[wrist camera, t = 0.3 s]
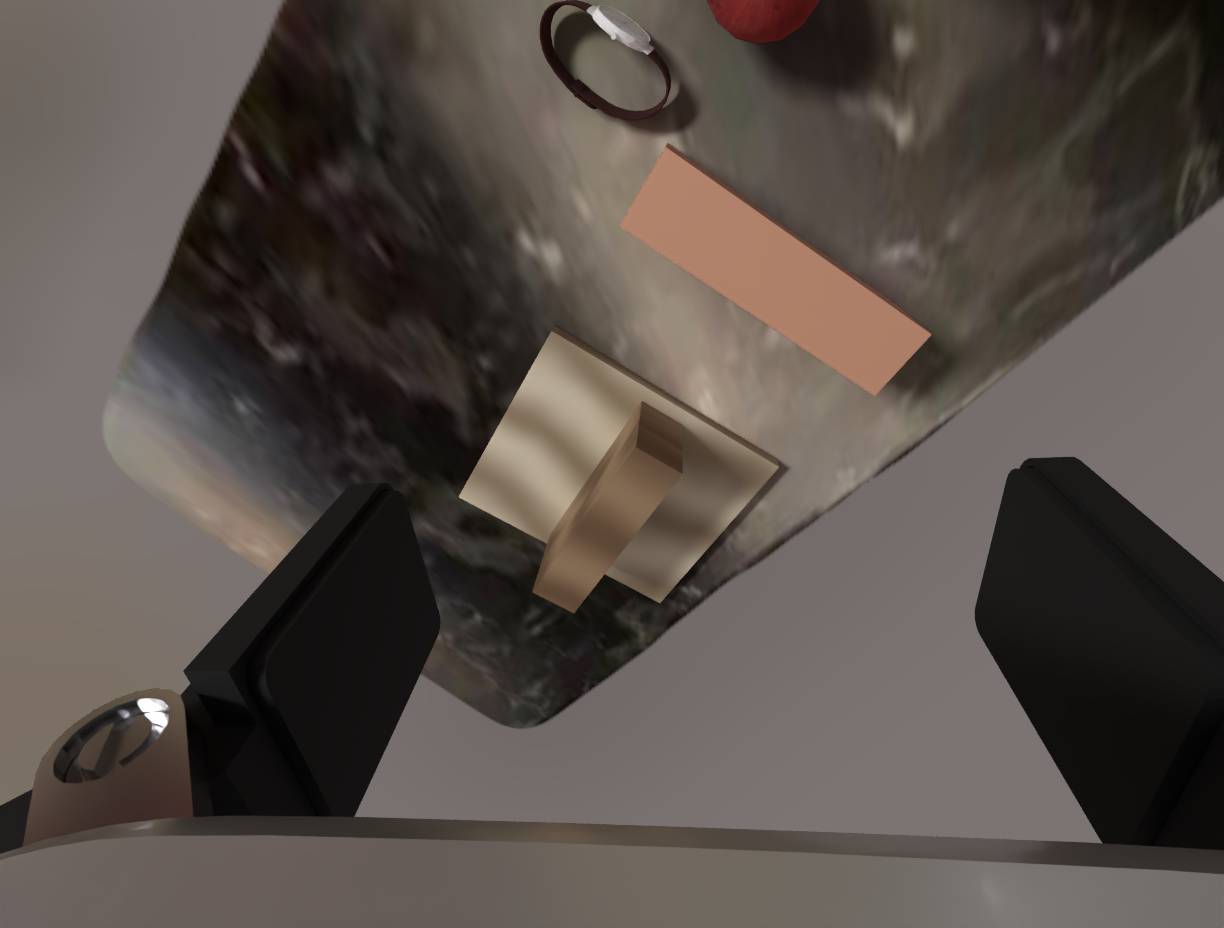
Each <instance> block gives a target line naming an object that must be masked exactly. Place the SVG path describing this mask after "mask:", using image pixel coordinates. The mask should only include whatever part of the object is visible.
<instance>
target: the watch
mask: <svg viewBox="0 0 1224 928" xmlns="http://www.w3.org/2000/svg"><path fill="white" fill-rule="evenodd" d="M563 5H572V6H576V7H578V8H580V9H582V10H584V11H585V12H587V13H589V14H590V15H592V17H593V19H594V21H595V22H596V23H597V24H598V25H599V26H600V27H601V28H602V29H603V30H604V31H605V32H606V33H608V34H609V35H610V36H611V39H613V40H615V39H617V40H618V41H620V42H621V43H623V44H625V45H626V46H628V47H630V48H632V49H634V50H637V51H639V52H644V53H645V54H647V55H648V56H649V57H650V58H651V59H652V60H653V61H654V62H655V63H656V64H657V65H658V66H659V68H660V69H661V71H662V73H663V75H664V78H665V81H666V87H667V89H666V95H665V97H664V99H663V100H662V101H661V102H660V103H659V104H658V105H657V106H655V107H653V108H651V109H648V110H645V111H630V110H625V109H622V108H619V107H616V106H614V105H612V104H611V103H609V102H607V101H606V100H604V99H603V98H601V97H600V96H598V95H597V94H596V93H594V92H593V91H591V90H590V89H589V88H588V87H587V86H586V85H585V84H584V83H582V82H581V81H580V80H579V79H578V80H576V81H575V79H574V78H573V77H572V76H571V74H570V73H569V72H568V71H567V70H566V68H565V67H564V66H563V64H562V63H561V61H560V60H559V58H558V56H557V54H556V53H555V50H554V47H553V44H552V38H551V22H552V19H553V16H554V14H555V12H556V11H557V10H558V9H559V8H560V7H562V6H563ZM540 41H541V46H542V50H543V53H544V55H545V58H546V60H547V61H548V63H549V65H550V66H551V68H552V69H553V71H554V72H555V74H556V75H557V76H558V77H559V78H560V80H561V81H562V82H563V83H564V85H565V86H566V87H567V88H568V89H569V90H570V91H571V92H572V93H573V94H574V96H575V97H577V98H579V99H580V100H581V101H582V102H583V103H585V104H586V105H587V106H588V107H590V108H592V109H597V108H598V109H600V110H601V111H603V112H604V113H606V114H609V115H611V116H613V117H617V118H620V119H624V120H640V119H646V118H648V117H651V116H653V115H655V114H656V113H657V112H658V111H660V110H661V109H662V107H663V106H664V104H665V103H666V101H667V98H668V95H669V92H670V88H671V78H670V73H669V70H668V67H667V66H666V64H665V62H664V61H663V59H662V58H661V56H660V55H659V54H658V53H657V52H656V51H655V50H654V47H652V46H651V45H649V42H650V36H649V35H648V34H647V33H646V32H645V31H644V30H643V29H642V28H641V27H640V26H639V25H638V24H637V23H636V22H634V21H633V20H632V19H630V18H629V17H627V16H626V15H624V14H623V13H621V12H619V11H617V10H615V9H614V8H611V7H609V6H607V5H598V6H597V7H596V6H594V5H593V6H592V5H590V4H588V3H585V2H581V1H577V0H566V1H562V2H556V3H554V4H552V5H550V6H549V7H548V8H547V9H546V10H545V12H544V14H543V16H542V19H541V23H540Z"/></svg>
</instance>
